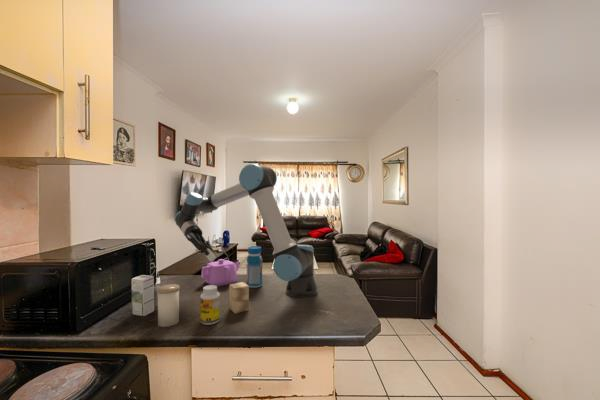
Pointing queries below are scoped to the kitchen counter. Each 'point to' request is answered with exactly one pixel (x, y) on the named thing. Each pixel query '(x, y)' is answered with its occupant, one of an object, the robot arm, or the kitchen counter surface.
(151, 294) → the syrup box
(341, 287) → the kitchen counter surface
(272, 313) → the kitchen counter surface
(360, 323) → the kitchen counter surface
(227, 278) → the teakettle
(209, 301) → the supplement bottle
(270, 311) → the kitchen counter surface
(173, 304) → the cream jar
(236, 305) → the beech block
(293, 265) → the robot arm
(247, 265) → the beverage bottle
